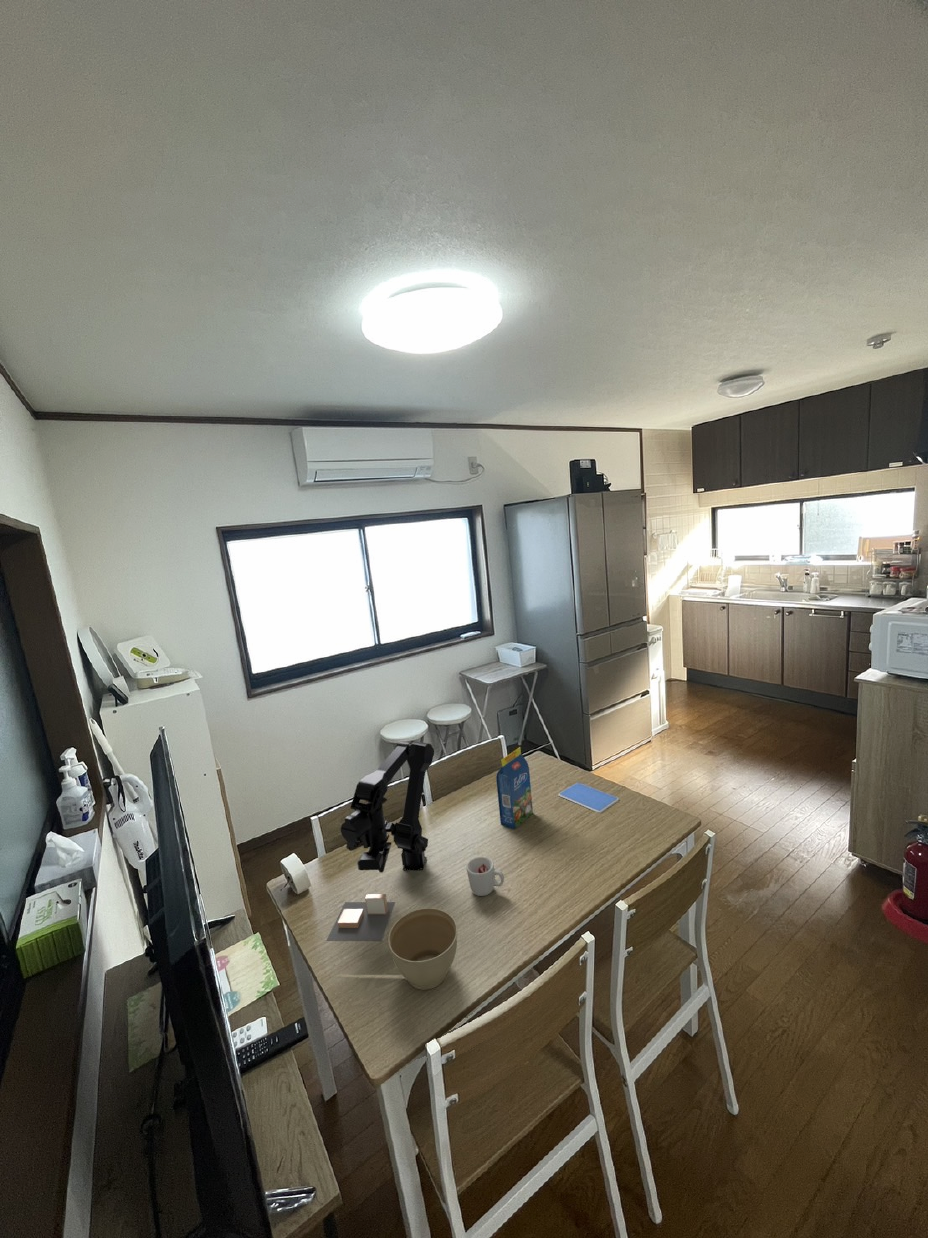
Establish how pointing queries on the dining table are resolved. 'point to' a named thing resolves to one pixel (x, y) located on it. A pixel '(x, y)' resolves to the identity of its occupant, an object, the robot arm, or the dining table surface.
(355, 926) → the tile
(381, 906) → the tile
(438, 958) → the planter bowl
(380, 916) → the mat
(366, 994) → the dining table surface
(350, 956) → the dining table surface
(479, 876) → the cup
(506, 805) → the blue food package
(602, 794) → the tablet computer
